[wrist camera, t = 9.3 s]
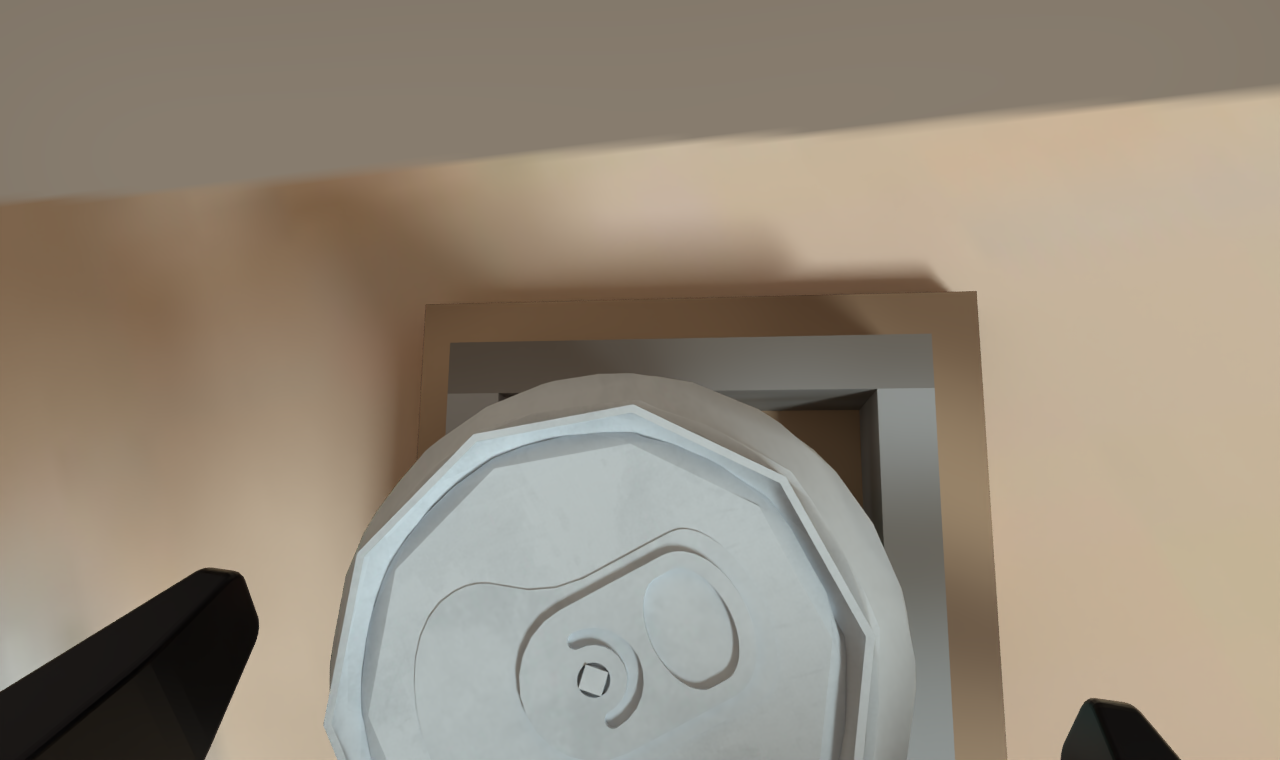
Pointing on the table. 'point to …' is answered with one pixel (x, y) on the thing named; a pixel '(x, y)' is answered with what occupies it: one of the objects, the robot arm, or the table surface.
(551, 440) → the beer can
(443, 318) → the socket board
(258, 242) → the table surface
